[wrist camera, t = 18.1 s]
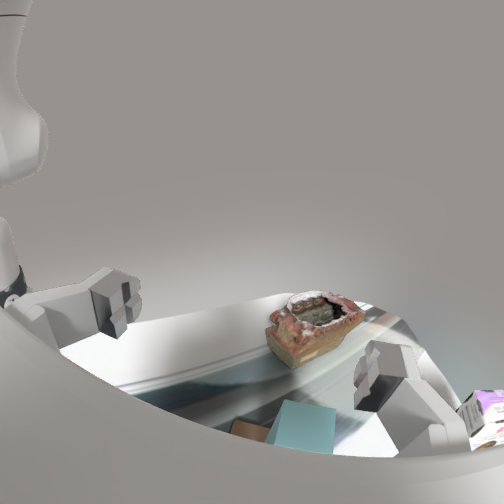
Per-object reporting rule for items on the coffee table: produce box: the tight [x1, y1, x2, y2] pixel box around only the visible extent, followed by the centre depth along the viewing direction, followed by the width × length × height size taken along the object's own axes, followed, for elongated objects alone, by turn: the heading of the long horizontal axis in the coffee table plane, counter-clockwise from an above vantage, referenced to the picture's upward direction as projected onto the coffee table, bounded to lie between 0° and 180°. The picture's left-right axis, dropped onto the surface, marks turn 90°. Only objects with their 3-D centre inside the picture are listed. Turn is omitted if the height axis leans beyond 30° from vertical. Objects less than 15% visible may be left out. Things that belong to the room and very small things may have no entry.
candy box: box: [455, 390, 504, 451], centre depth 21 cm, size 14×6×16 cm, turn 75°
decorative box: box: [266, 290, 366, 370], centre depth 50 cm, size 13×20×10 cm, turn 115°
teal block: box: [264, 399, 336, 454], centre depth 23 cm, size 5×5×14 cm
